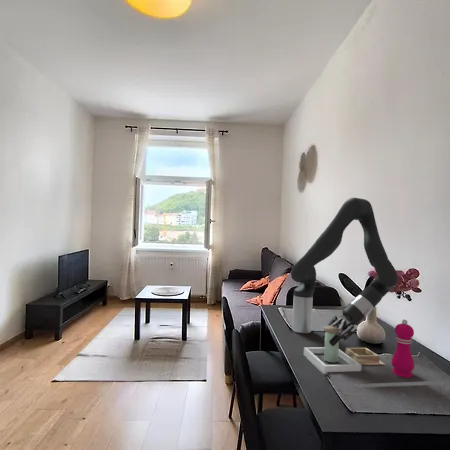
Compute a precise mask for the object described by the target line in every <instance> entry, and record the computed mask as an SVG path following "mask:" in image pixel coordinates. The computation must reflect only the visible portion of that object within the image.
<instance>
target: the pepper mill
mask: <svg viewBox="0 0 450 450" xmlns="http://www.w3.org/2000/svg"><path fill="white" fill-rule="evenodd" d="M394 333H395V335H396V336H395V341H396V349H395V352H393V353H394V354H393V355H392V357H391V363H390V364H391V366H392V367H393V368H392V373H393V374H394V375H396V376H397V377H402V378H412V377H413V372H412V371H413V370H414V369H415V362H414V358H413V355H412V353H411V352H412V351H411V344H413V342H412V341H413V340H412V338H413V337H414V335H415V331H414V328H413V326H411V325H410V324H408V320H406V319H402V320H401V323H399V324H396V325H395V327H394Z"/></svg>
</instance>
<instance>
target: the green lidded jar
mask: <svg viewBox="0 0 450 450" xmlns="http://www.w3.org/2000/svg"><path fill="white" fill-rule="evenodd" d="M323 331H324V333H325V340H324V347H325V348H324V353H323V360H324V361H326V362H329V363H337V362H339V356H338V349H339V345H340V340H339V341H338V342H337V343H336V344H335V345H334V346H332V345H331V344H330V343H329V341H330V340H331V339H332V338H333V337H334V336H335V335H336V334H337V333H338V332H339V330H338V327H337V326H332V325H331V326H327V325H324V327H323ZM336 336H337V335H336Z"/></svg>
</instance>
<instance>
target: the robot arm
mask: <svg viewBox="0 0 450 450" xmlns="http://www.w3.org/2000/svg"><path fill="white" fill-rule="evenodd" d="M353 221H358V222H359V224H360V226H361V228H362V230H363V248H364V252H365V254H366V257H367V259H368V262H369V264H370V265H371V267H373V269H374V270H375V272H376V277H375V278H374V279H373V280H372V281H371V282H370V283H369V285H368V286H366V287H365V288H364V289H362V290H361V292H360V293H359V294H358V295H356V296H355V297H354V298H353V299H352V300H351V301H350V302H349V303H348V304H347V305H346V306H345V307H344V308H343V309H342V311H341V312H342V315H340V316H339V317H338V316H337V315H334V316H333V317H331V318H332V319H331V320H330V321H329V322H328V324H327V325H326V326H336V327H338V330H339V332H338V333H337V334H336V335H337V336H336V335H335V336H334V337H333V338H332V339H331V340H330V341H329V343H330V344H331V345H332V346H334V345H335V344H336V343H337V342H338V341H339V342H340V341H342V340H344V341H346V340H348V339H349V338H350V337H351V336H352V335H353V334H355V333H356V332H357V331H358V329H357V328H356V327H355V326H359V325H360V324H361V323H362V322H363V321H364V320H365V319H366V318H367V317H368V316H369V314H370V313H372V311H373V310H374V309H375V307H376V306H377V305H378V304H379V303H380V302H381V301H382V299H383V298H384V297H385V296H386V295H387V294H388V293H389V292H390V291H391V290H392V289H393V288H394V287H396V285H398V283H399V276H398V272H397V270H396V269H395V267H394V266H393V264H392V262H391V260H390V259H389V257H388V254H387V252H386V250H385V247H384V245H383V243H382V240H381V236H380V235H379V230H378V227H377V222H376V217H375V212H374V209H373V206H372V204H371V202H370V201H369V200H367V199H365V198H358V197H349V198H348V199H346V201H344V203H343V204H342V206H341V207H340V208H339V210H338V212H337V213H336V214H335V216H334V218H333V219H332V220H331V222H330V223H329V224H328V226H327V227H326V228H325V230H324V231H323V232H321V234H320V235H319V237H318V238H317V239H316V240H315V242H314V243H313V244H312V245H311V246H310V248H308V250H307V252H306V253H305V254H304V255H303V256H302V257H301V258H300V259H298V260H297V262H295V264H294V265H293V266H292V268H291V270H290V276H291V277H290V278H291V279H292V280H293V281H295V282H296V283H299V285H298V286H297V287H296V288H294V290H293V300H292V301H293V302H292V303H293V304H292V321H291V322H292V324H291V330H292V331H293V332H295V333H299V334H310V333H312V325H313V324H312V323H313V321H312V320H313V319H312V318H313V299H314V298H313V297H314V292H315V291H316V290H315V289H316V281H317V280H316V279H317V272H316V267H315V266H316V265H317V264H318V263H321V262H322V261H324V260H325V259H327V258H328V257H330V256H331V255H332V254H333V253H334V252H335V251H336V250H337V249H338V248H339V247H340V245H341V243H342V239H343V235H344V231H345V230H346V229H347V227H348V226H349V225H350V224H351V223H352V222H353ZM321 338H322V339H323V341H325V332H324V333H323V334H322V335H321Z"/></svg>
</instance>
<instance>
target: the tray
mask: <svg viewBox="0 0 450 450" xmlns="http://www.w3.org/2000/svg"><path fill="white" fill-rule="evenodd" d="M324 348H325V346H322V347H321V346H319V347H315V346H314V347H310V346H309V347H303V356H304V357H305V358H306V359H307V360H308V361H309V362H310V363H311V364H312V365H313V366H314V367H315V368H316V369H318V371H320V373H321V374H323V375H324V376H329V375H330V373H336V372H337V373H338V372H340V373H341V372H342V373H343V372H361V371H362V365H360V364H359V363H358V362H356V361H355V360H354V359H352V358H351V357H349V356H348V355H347V354H345V351H343V350H342V349H340V348H338V357H340V358H341V359H342V360H344V361H345V362H346V363H347V364H326V363H325V362H323V360H321V359H320V358H319V357H318V356H317V355H315V354H324Z"/></svg>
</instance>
